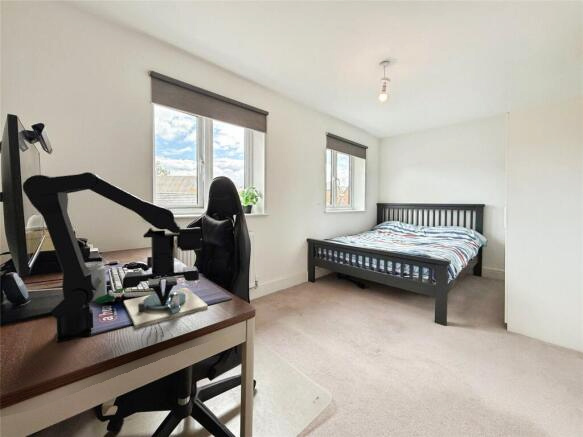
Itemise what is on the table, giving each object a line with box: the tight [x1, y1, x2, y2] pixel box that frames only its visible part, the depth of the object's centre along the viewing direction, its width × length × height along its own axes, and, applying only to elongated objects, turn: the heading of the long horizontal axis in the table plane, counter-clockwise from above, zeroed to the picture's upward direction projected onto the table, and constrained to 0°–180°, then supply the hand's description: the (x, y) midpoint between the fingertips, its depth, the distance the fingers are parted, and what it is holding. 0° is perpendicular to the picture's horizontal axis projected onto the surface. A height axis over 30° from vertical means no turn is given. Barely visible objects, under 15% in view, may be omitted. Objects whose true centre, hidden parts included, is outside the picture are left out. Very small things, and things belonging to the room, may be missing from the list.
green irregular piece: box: [94, 286, 127, 304], centre depth 84 cm, size 9×4×6 cm
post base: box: [123, 287, 208, 329], centre depth 80 cm, size 20×20×3 cm
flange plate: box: [143, 290, 186, 313], centre depth 79 cm, size 17×12×5 cm
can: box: [84, 261, 108, 303], centre depth 84 cm, size 8×8×12 cm
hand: (163, 305), depth 72 cm, fingers closed
